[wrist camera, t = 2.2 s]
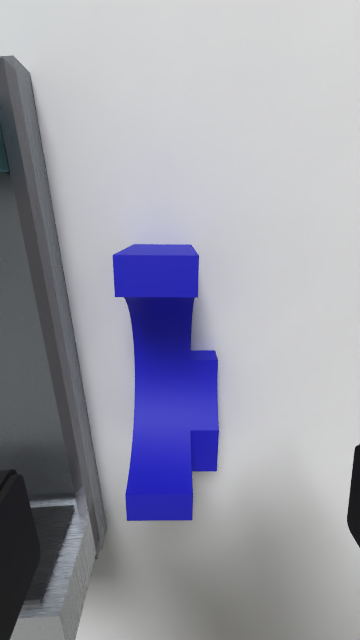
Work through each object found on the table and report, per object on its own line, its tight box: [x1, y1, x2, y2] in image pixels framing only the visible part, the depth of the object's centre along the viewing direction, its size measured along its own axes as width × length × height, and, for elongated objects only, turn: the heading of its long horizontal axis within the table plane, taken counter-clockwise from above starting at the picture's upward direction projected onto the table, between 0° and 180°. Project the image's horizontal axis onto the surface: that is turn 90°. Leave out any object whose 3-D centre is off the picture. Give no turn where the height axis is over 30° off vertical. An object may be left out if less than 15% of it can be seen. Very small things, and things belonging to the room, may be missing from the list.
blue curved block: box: [113, 244, 219, 521], centre depth 16 cm, size 12×4×6 cm, turn 0°
